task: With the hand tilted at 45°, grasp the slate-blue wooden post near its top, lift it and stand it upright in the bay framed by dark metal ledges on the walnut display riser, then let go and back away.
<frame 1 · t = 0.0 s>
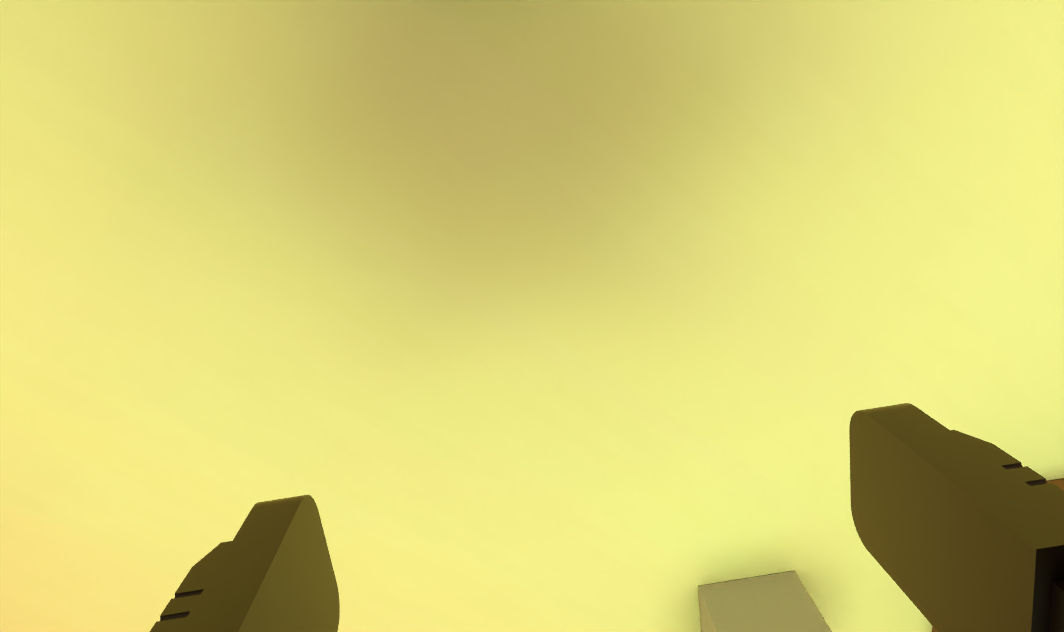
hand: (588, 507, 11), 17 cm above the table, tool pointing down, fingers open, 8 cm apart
slate post: (747, 616, 34), on the table
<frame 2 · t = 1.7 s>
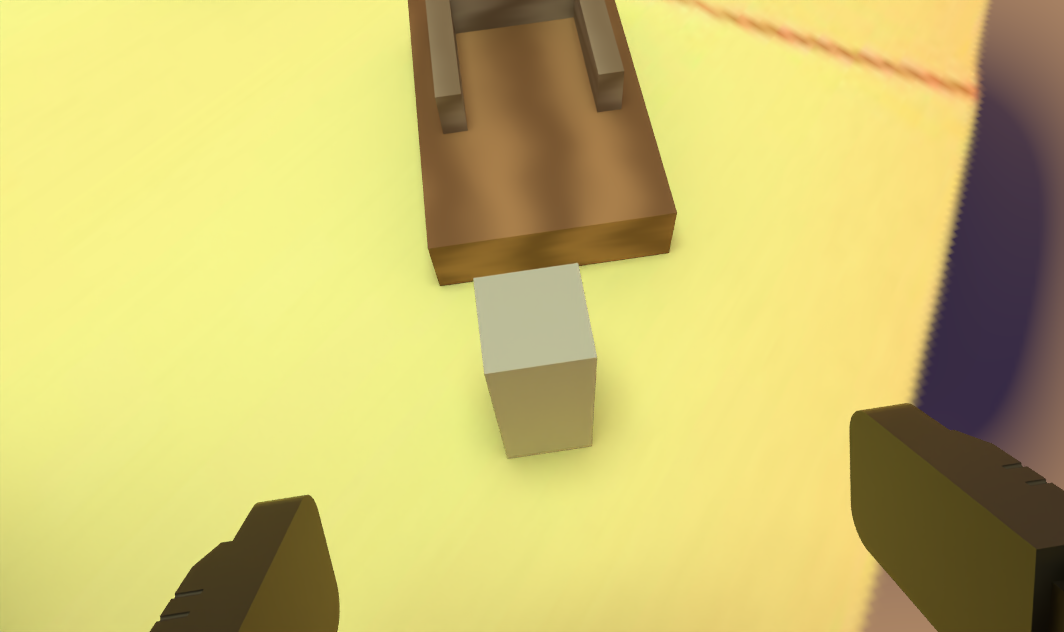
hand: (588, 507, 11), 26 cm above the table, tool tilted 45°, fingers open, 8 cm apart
slate post: (543, 412, 39), on the table
display riser: (530, 133, 49), on the table
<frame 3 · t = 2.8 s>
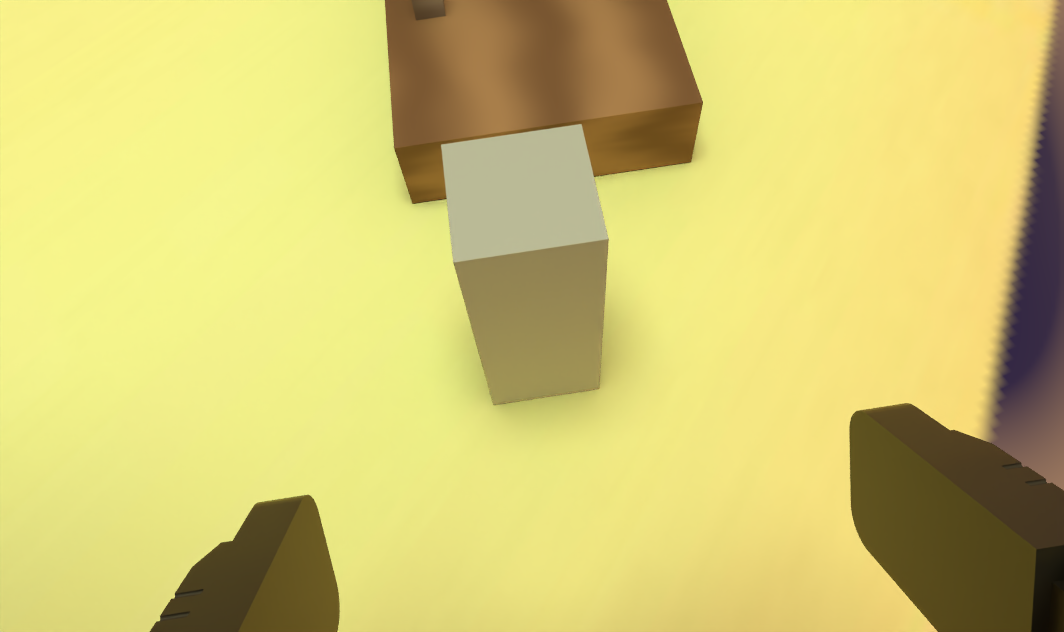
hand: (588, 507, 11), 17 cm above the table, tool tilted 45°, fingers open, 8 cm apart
slate post: (538, 349, 31), on the table
display riser: (522, 33, 41), on the table
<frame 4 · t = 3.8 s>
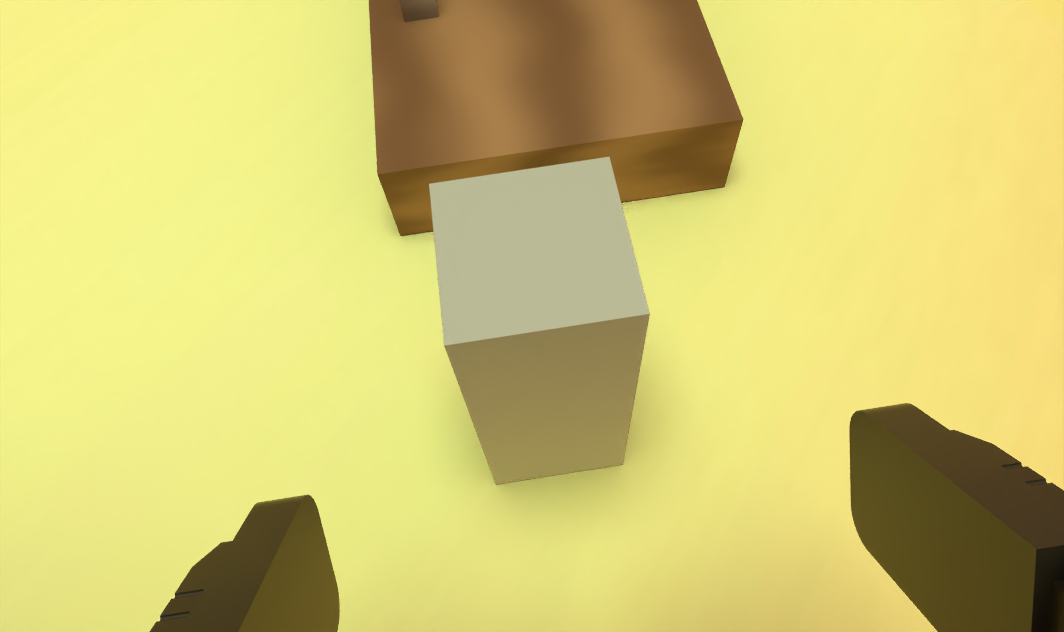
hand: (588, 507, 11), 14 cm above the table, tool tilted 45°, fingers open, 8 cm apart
slate post: (549, 414, 26), on the table
display riser: (527, 36, 36), on the table
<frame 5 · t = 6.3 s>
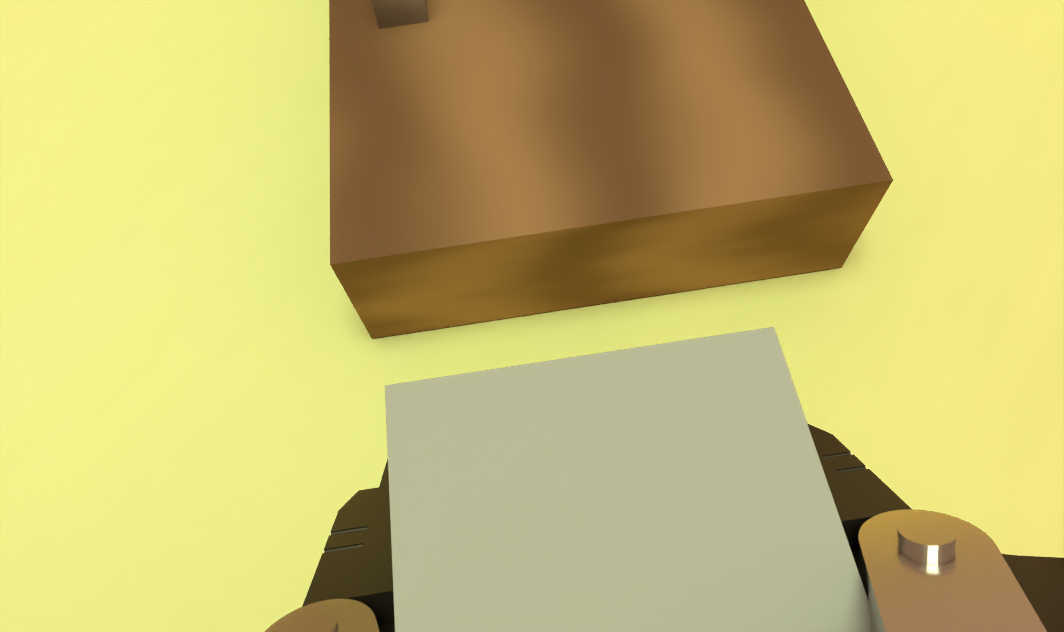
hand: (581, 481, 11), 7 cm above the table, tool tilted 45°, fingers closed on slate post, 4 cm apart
display riser: (551, 47, 26), on the table
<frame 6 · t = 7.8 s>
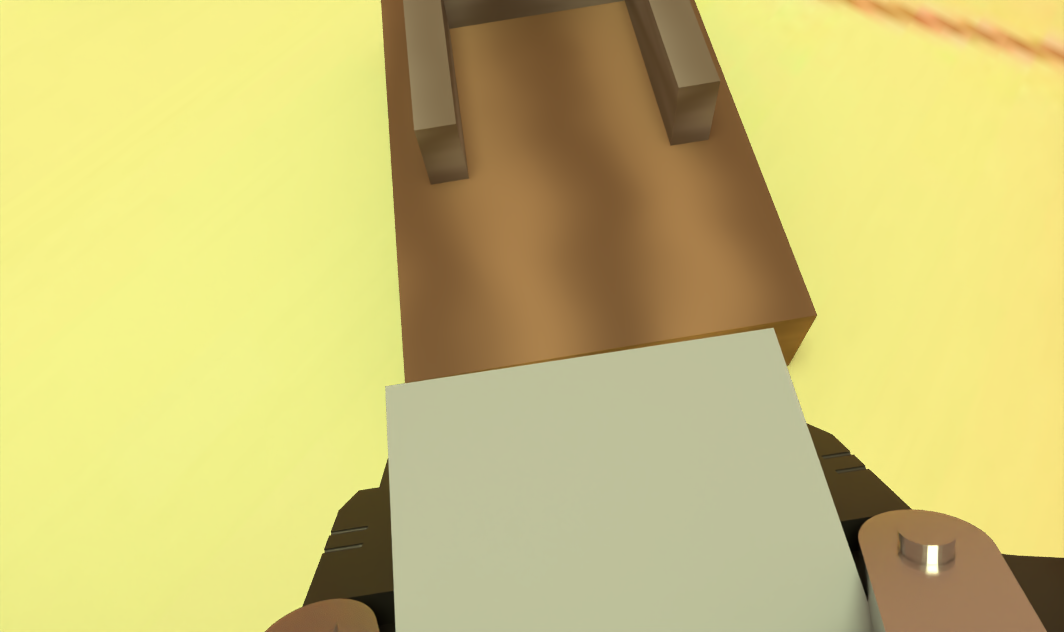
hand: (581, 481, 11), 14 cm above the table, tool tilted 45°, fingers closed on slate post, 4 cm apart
display riser: (562, 174, 33), on the table
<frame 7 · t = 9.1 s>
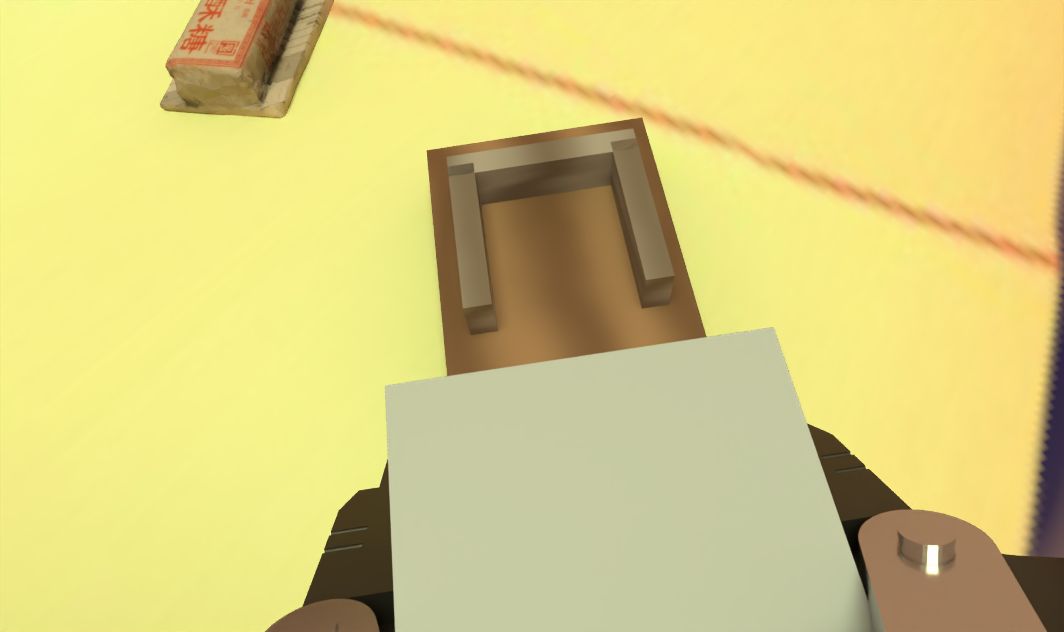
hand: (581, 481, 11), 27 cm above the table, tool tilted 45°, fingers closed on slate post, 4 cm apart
packaged product: (265, 40, 59), on the table
display riser: (563, 311, 44), on the table
when the fingers open (12 cm above the table, at t = 14.7 s): slate post stays where it is, resting on display riser.
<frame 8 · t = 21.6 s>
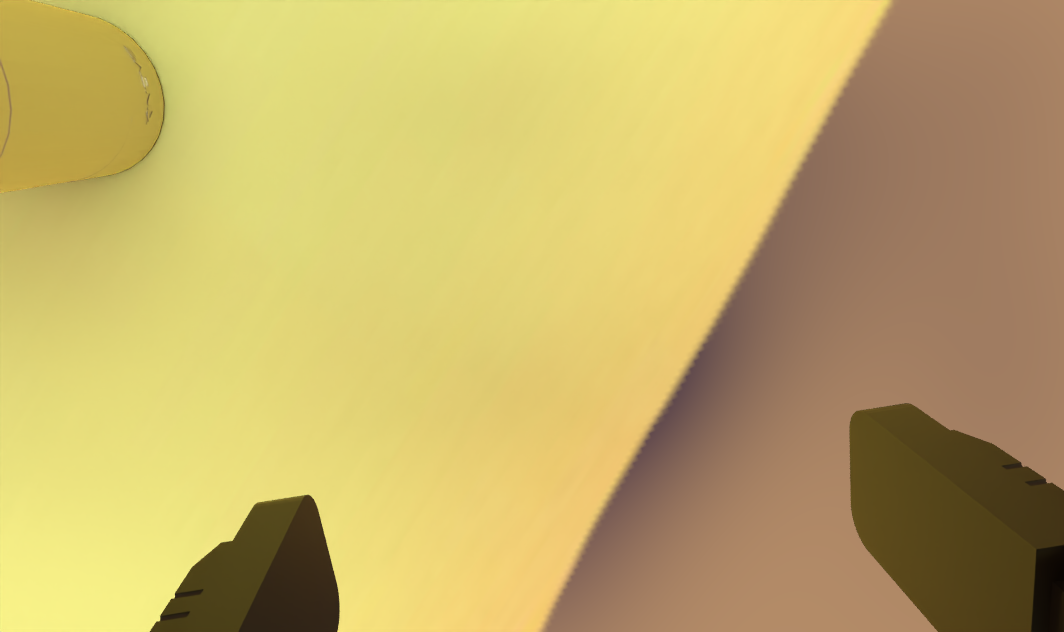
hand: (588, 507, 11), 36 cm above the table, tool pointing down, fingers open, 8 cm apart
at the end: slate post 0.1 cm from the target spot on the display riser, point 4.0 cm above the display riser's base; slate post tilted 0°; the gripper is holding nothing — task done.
